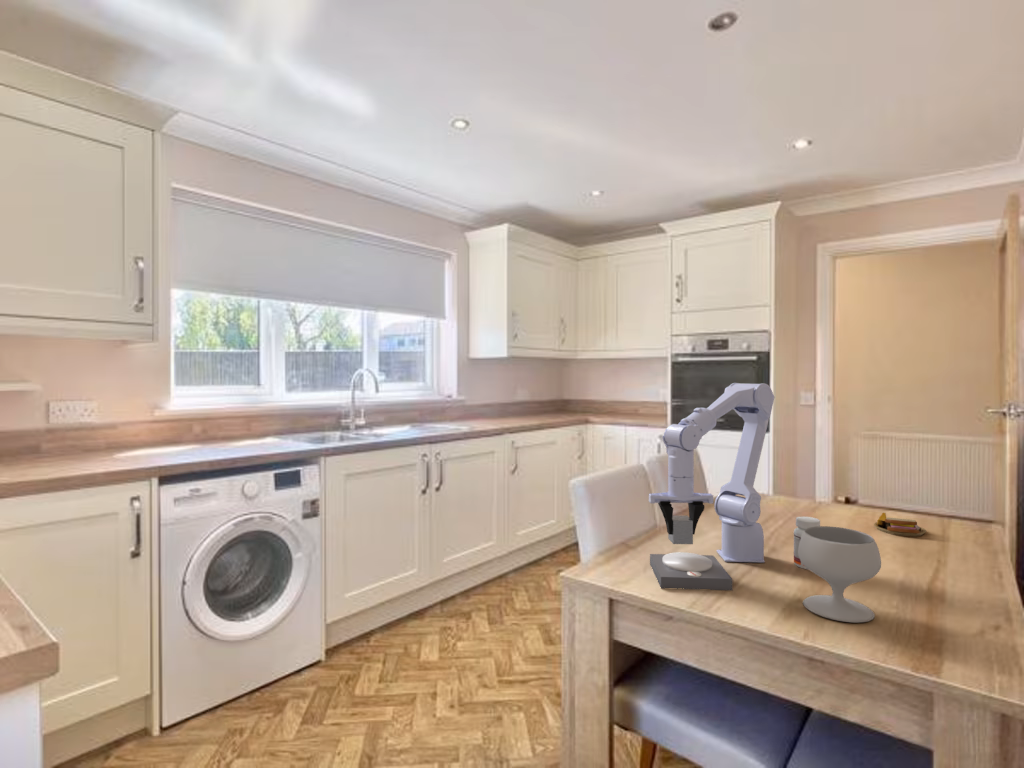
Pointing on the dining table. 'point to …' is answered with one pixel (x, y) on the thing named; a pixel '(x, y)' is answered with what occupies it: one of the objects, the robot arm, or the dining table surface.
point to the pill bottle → (802, 526)
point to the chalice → (839, 569)
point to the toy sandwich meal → (899, 526)
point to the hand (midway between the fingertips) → (680, 533)
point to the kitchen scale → (689, 571)
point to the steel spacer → (681, 530)
